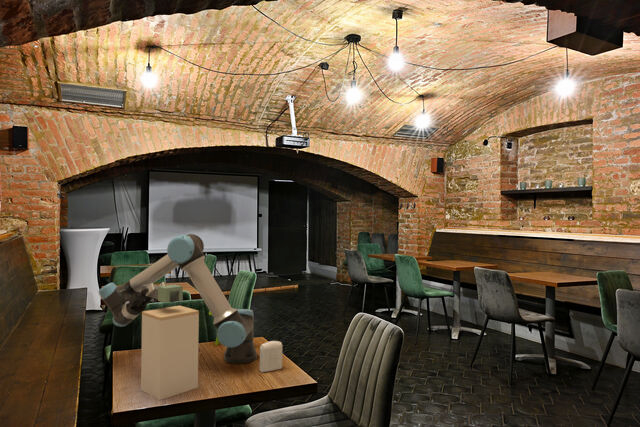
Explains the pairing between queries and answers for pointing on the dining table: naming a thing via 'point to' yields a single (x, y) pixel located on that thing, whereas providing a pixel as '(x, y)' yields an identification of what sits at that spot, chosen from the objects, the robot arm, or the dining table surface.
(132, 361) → the dining table surface
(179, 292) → the bar
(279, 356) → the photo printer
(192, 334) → the pedestal
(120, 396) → the dining table surface
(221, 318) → the robot arm
